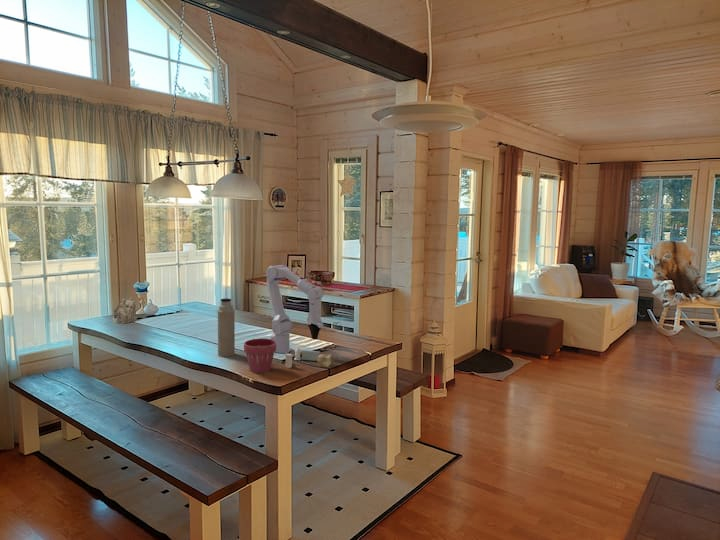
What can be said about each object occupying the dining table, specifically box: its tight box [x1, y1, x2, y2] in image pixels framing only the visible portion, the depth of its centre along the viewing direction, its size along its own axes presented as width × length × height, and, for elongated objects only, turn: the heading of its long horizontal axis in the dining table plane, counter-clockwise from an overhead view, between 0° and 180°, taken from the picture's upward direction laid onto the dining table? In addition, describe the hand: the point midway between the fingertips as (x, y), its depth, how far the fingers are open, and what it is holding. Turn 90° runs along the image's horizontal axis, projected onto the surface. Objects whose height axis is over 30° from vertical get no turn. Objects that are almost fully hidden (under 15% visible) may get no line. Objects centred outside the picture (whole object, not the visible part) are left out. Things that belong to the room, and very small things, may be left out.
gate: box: [301, 349, 321, 362], centre depth 239 cm, size 9×1×4 cm, turn 78°
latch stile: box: [285, 353, 293, 369], centre depth 231 cm, size 3×7×6 cm, turn 168°
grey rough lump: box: [112, 296, 138, 324], centre depth 310 cm, size 16×16×15 cm
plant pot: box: [243, 338, 276, 374], centre depth 223 cm, size 14×14×13 cm
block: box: [317, 353, 332, 368], centre depth 233 cm, size 5×5×4 cm
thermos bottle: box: [217, 297, 236, 358], centre depth 243 cm, size 8×8×28 cm
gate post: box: [293, 348, 302, 361], centre depth 241 cm, size 4×4×5 cm
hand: (314, 339), depth 243 cm, fingers closed
